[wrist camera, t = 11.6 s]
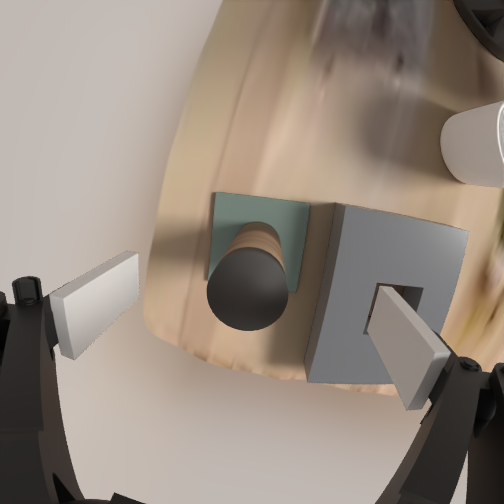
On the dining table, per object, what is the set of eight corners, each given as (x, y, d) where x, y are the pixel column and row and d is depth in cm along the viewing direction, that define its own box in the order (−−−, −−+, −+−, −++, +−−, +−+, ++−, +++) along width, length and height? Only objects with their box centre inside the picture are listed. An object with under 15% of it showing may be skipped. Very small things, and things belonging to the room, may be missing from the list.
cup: (441, 103, 23) (496, 82, 14) (507, 142, 23) (561, 140, 14) (433, 171, 26) (493, 171, 16) (500, 203, 25) (556, 214, 16)
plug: (237, 218, 28) (209, 250, 15) (283, 224, 28) (294, 261, 15) (232, 263, 29) (204, 324, 16) (277, 268, 29) (281, 335, 16)
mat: (216, 191, 28) (216, 192, 27) (309, 203, 27) (310, 203, 27) (208, 279, 30) (207, 281, 29) (295, 291, 29) (296, 292, 29)
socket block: (335, 202, 27) (345, 205, 23) (449, 225, 27) (469, 231, 23) (303, 361, 31) (307, 382, 28) (407, 364, 31) (419, 382, 27)
